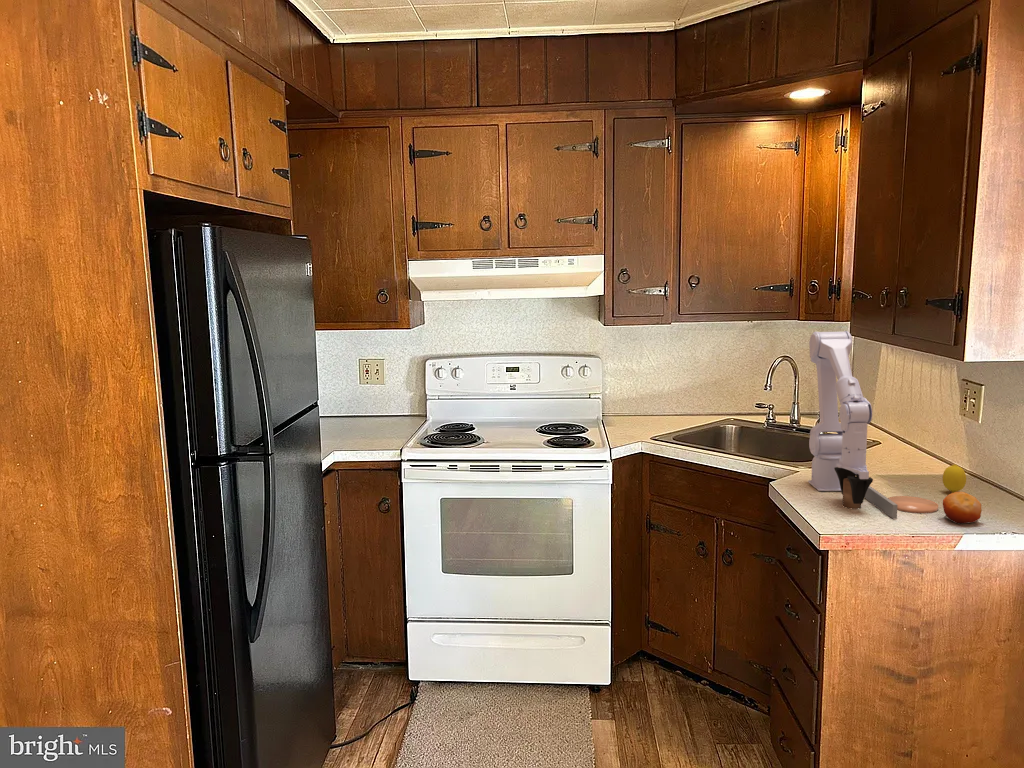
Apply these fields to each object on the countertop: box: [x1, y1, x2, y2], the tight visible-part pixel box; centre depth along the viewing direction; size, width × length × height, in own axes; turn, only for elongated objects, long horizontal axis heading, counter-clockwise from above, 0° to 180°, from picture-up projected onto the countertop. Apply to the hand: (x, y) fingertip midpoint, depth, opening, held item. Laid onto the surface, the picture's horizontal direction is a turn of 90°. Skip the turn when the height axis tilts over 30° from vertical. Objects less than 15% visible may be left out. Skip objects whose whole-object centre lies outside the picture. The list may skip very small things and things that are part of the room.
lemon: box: [942, 463, 967, 493], centre depth 199 cm, size 6×6×8 cm
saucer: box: [887, 495, 939, 514], centre depth 190 cm, size 12×12×1 cm
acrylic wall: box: [864, 485, 898, 520], centre depth 190 cm, size 20×1×4 cm, turn 176°
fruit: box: [942, 491, 983, 525], centre depth 178 cm, size 8×8×8 cm
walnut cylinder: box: [842, 478, 862, 510], centre depth 190 cm, size 4×4×7 cm
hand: (852, 498), depth 191 cm, fingers open, 7 cm apart
